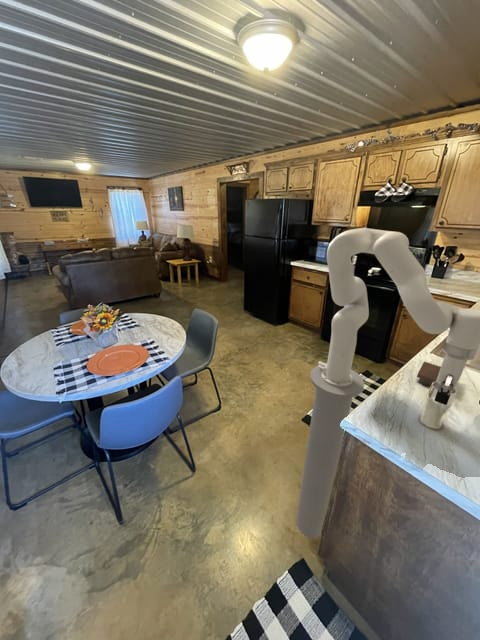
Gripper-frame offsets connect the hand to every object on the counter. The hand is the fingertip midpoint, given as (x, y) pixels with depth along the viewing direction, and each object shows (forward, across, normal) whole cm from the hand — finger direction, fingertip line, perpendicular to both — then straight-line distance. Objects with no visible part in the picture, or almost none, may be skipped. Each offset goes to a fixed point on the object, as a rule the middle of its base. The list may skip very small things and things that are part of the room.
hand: (442, 394), depth 86 cm
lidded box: (+12, -28, -4) cm, 31 cm away
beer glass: (+12, 0, -1) cm, 12 cm away
